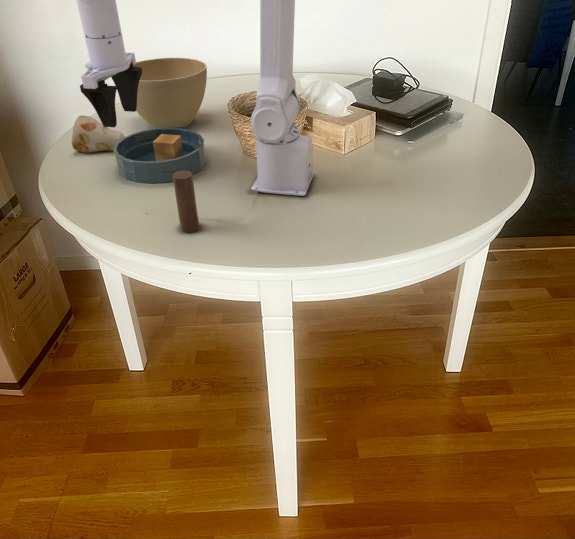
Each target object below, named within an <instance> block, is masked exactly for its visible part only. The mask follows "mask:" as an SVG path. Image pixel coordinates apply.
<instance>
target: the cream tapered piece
mask: <svg viewBox="0 0 575 539" xmlns="http://www.w3.org/2000/svg"><path fill="white" fill-rule="evenodd" d="M72 127H73V128H72V135H71V145H72V149H73V150H74V151H77V152H79V153H83V154H84V153H86V154H87V153H88V154H89V153H97V152H104V151H110V152H114V151H113V149H114V146H115V144H116V143H117V142H118V141H120V140H121V139H122V138H124V137H126V135H124V133H123V132H121V131H118V130H114V129H111V128H110V127H104V126H103V124H102V122H101V121H99V120H97V119H95V118H93V117H92V116H89V115H78V116H77V118H76V119H75V121H74V124H73V126H72Z"/></svg>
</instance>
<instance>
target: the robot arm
mask: <svg viewBox="0 0 575 539" xmlns="http://www.w3.org/2000/svg"><path fill="white" fill-rule="evenodd" d="M76 4H77V9H78V13H79V17H80V22H81V26H82V27H81V28H82V31H83V35H84V40H85V44H86V48H87V52H88V58H89V61H87V62H86V63H84V66H85V68H86V70H85V73H83V74H81V76H80V78H81V83H82V84H79V89H80V90H79V91H80V92H81V93H82V95H83V96H85V98H86V99H87V100H88V101H89V103H90V104H91V106H92V107H93V109H94V111H95V112H96V114H97V116H98V118H99V120H100V123H102V124H103V126H104V127H108V128H116V127H117V124H118V119H117V111H116V94H118V97H119V100H120V104H121V107H122V109H123V111H124V112H131V113H135V112H137V111H136V109H137V92H138V85H139V81H140V77H141V75H142V68H141V67H133V65H135V64H136V62H137V60H136V56H135V52H129V51H128V52H126V48H125V42H124V37H123V33H122V32H123V31H122V27H121V22H120V17H119V16H120V15H119V11H118V7H117V1H116V0H76ZM259 8H260V9H259V35H260V36H259V44H260V45H259V48H260V49H259V50H260V51H259V53H260V55H259V58H260V59H259V60H260V61H259V63H260V64H259V65H260V66H259V67H260V68H259V70H260V71H259V73H260V74H259V75H260V77H259V83H258V86H257V90H256V102H255V107H254V109H253V111H252V113H251V116H250V127H251V130H252V132H253V133H254V136H255V137H254V138H255V152H256V153H255V154H256V156H255V157H256V173H257V178H256V179H255V181H254V182H253V184H252V186H251V188H250V190H252V191H257V193H262V194H263V193H264V194H276V195H285V196H286V195H288V196H299V197H305V196H306V195H307V191H308V190H309V187H310V185H311V182H312V180H313V178H314V174H313V156H314V155H313V150H314V147H313V146H314V144H313V138H312V137H310V136H306V135H302V134H301V133H300V130H299V128H298V127H297V124H296V123H295V121H296V119H297V118H298V117H299V115H300V113H301V100H300V98H299V96H298V94H297V88H296V85H297V84H296V83H297V82H296V79H295V77H294V74H293V73H294V72H293V70H294V47H295V46H294V45H295V16H296V15H295V14H296V12H295V11H296V0H259ZM110 78H111V80H112V81H113V83H114V85H108V83H107V82H106V81H107V80H108V79H110Z"/></svg>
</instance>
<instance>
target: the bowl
mask: <svg viewBox="0 0 575 539" xmlns="http://www.w3.org/2000/svg"><path fill="white" fill-rule="evenodd" d="M161 134H168V135H181V139H182V146H183V153H184V155H183V156H181V157H178V158H175V159H170V160H164V161H156V157H155V152H154V146H153V141H155V140H156V139H157V138H158V137H159V136H160V135H161ZM112 152H113V156H114V160H115V164H116V169H117V172H118V174H119V175H120V176H121V177H123V178H124V179H125V180H127V181H130V182H131V181H132V182H135V183H140V184H141V183H142V184H166V183H172V182H173V174H174V173H175V172H178V171H190V172H191V173H192V176H194V175H195V174H197V173H198V172H200V171H202V170H203V168H204V167H205V166H206V165H207V154H206V145H205V138H204V137H203V136H202V135H201V134H200V133H198V132H196V131H194V130H191V129H186V128H157V129H156V128H151V129H144V130H141V131H137V132H134V133H130V134H128V135H127V136H126V135H125V137H124V138H122V139H121V140H120V141H118V142H117V143H116V144H115V146H114V149H113V151H112Z"/></svg>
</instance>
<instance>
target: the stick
mask: <svg viewBox="0 0 575 539" xmlns="http://www.w3.org/2000/svg"><path fill="white" fill-rule="evenodd" d="M172 182H173V188H174V194H175V201H176V206H177V213H178V219H179V226H180V231H181V232H183V233H186V234H191V233H195V232H197V231H198V230H199V229H200V222H199V215H198V214H199V213H198V208H197V207H198V206H197V200H196V193H195V192H196V191H195V186H194V175H192V173H191V172H190V171H178V172H175V173H174V174H173V181H172Z"/></svg>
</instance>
